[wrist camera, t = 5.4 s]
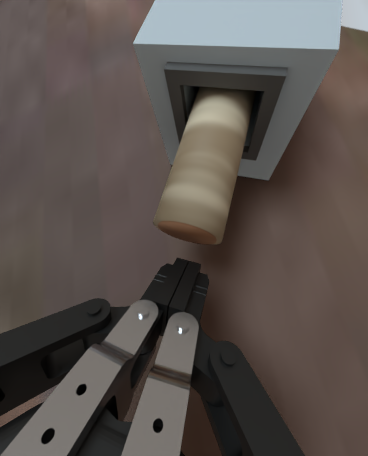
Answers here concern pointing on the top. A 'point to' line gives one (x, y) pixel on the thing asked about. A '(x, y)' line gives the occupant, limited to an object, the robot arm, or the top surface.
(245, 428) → the robot arm
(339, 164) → the top surface
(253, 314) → the top surface
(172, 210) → the peg
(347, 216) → the top surface
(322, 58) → the block
